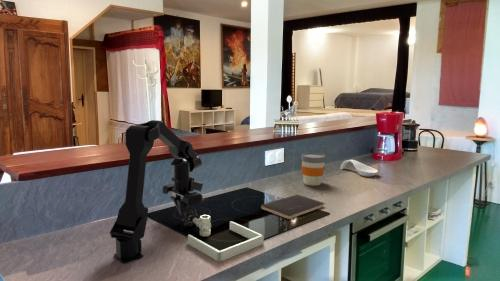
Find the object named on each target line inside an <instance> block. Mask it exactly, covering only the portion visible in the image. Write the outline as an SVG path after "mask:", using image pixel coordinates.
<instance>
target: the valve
mask: <svg viewBox="0 0 500 281" xmlns="http://www.w3.org/2000/svg"><path fill="white" fill-rule="evenodd" d="M197 213H198V212H197V210H196V209H191V208H188V212H186V211H185V213H184V215H183V216H184V217H182V219H181V220H182V221H183V222H184V224H183V225H184V226H185V227H187V226H188V227H193V225H194V224H195V225H196V227H198V228H199V236H201V237H209V236H210V235H211V228H212V223H211V216H210V215H209V214H203V215H198V214H197ZM190 214H192V215H190ZM188 220H189V221H188Z"/></svg>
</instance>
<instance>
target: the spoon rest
mask: <svg viewBox="0 0 500 281" xmlns="http://www.w3.org/2000/svg"><path fill="white" fill-rule="evenodd" d="M348 163H352V164H353V166H354V168H355V171H356V172H357V173H358V174H359V175H360V176H362V177H366V178H368V177H369V178H370V177H374V176H376V175H377V174H378V172H379V170H378V169H376V168H373V167H371V166H369V165H366V164H364V163H362V162H360V161H358V160H356V159H347V160H343V162H342V163H341V165H340V168H339V169H340V170H345V169H347V165H348Z"/></svg>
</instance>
